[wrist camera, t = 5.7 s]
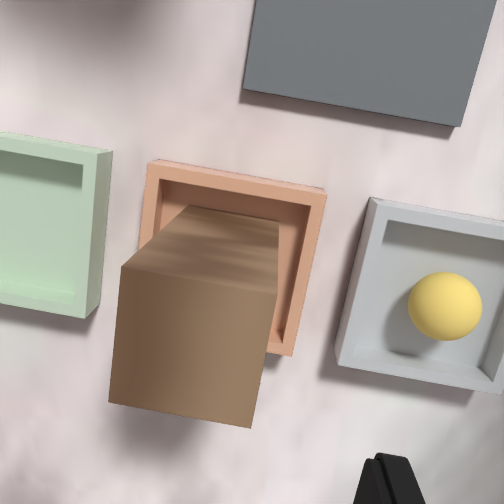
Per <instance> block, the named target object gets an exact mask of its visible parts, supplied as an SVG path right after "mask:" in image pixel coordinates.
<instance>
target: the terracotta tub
mask: <svg viewBox="0 0 504 504" xmlns="http://www.w3.org/2000/svg"><path fill="white" fill-rule="evenodd" d="M326 199H327V194H326V192H325V191H324V189H322V188H316V187H311V186H305V185H300V184H294V183H289V182H283V181H277V180H272V179H266V178H261V177H255V176H250V175H244V174H238V173H233V172H227V171H222V170H216V169H211V168H205V167H199V166H194V165H188V164H183V163H177V162H172V161H166V160H160V159H158V160H155V161H152V162H149V163H147V173H146V182H145V191H144V201H143V210H142V220H141V229H140V238H139V248H138V251H139V250H140V249H141V248H142V247H143V246H144V245H145V244H146V243H147V242H149V241H150V240H151V239H152V238H153V237H154V236H155V235H156V234H157V233H158V232H159V231H160V230H162V229H163V228H164V227H165V226H166V225H167V224H168V223H169V222H170V221H171V220H172V219H174V218H175V217H176V216H177V215H178V214H179V213H180V212H181V211H182V210H183V209H184V208H185V207H187V206H188V205H193V206H198V207H204V208H210V209H215V210H221V211H226V212H232V213H237V214H243V215H248V216H254V217H259V218H265V219H270V220H276V221H279V250H278V295H277V300H276V305H275V310H274V315H273V320H272V325H271V330H270V335H269V340H268V345H267V350H266V352H269V353H274V354H280V355H285V356H290V357H292V355H293V350H294V346H295V341H296V336H297V332H298V327H299V323H300V318H301V313H302V309H303V304H304V300H305V295H306V290H307V286H308V281H309V277H310V272H311V267H312V263H313V258H314V254H315V249H316V244H317V240H318V235H319V231H320V226H321V222H322V217H323V212H324V208H325V203H326Z"/></svg>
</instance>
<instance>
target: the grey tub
mask: <svg viewBox="0 0 504 504" xmlns="http://www.w3.org/2000/svg"><path fill="white" fill-rule="evenodd" d="M436 272H451V273H455V274H458V275H460V276H462V277H464V278H466V279H467V280H468V281H470V282H471V283H472V284H473V285H474V286H475V288H476V289H477V291H478V293H479V295H480V297H481V301H482V314H481V318H480V321H479V323H478V325H477V326H476V327H475V329H474V330H473V331H472V332H471V333H469V334H468V335H466V336H465V337H463V338H460V339H457V340H453V341H441V340H436V339H433V338H431V337H428V336H427V335H425V334H424V333H422V332H421V331H420V330H419V329H418V328H417V327H416V326H415V325H414V323H413V321H412V320H411V317H410V315H409V311H408V300H409V295H410V292H411V290H412V288H413V287H414V286H415V284H416V283H417V282H418V281H419V280H421V279H422V278H423V277H425V276H427V275H429V274H432V273H436ZM333 347H334V351H335V356H336V360H337V364H338V365H340V366H345V367H350V368H356V369H361V370H367V371H372V372H378V373H383V374H389V375H394V376H399V377H405V378H410V379H416V380H421V381H427V382H432V383H438V384H443V385H448V386H454V387H459V388H465V389H470V390H476V391H481V392H487V393H492V394H497V395H502V392H503V389H504V221H500V220H495V219H489V218H484V217H478V216H472V215H467V214H461V213H456V212H450V211H445V210H439V209H433V208H428V207H422V206H417V205H411V204H406V203H400V202H394V201H389V200H383V199H378V198H372V197H370V198H369V202H368V206H367V211H366V215H365V219H364V223H363V227H362V231H361V235H360V239H359V243H358V247H357V252H356V256H355V260H354V264H353V268H352V272H351V276H350V280H349V284H348V288H347V293H346V297H345V301H344V305H343V309H342V313H341V317H340V321H339V325H338V329H337V334H336V338H335V342H334V346H333Z"/></svg>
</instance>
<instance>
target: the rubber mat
mask: <svg viewBox="0 0 504 504" xmlns="http://www.w3.org/2000/svg"><path fill="white" fill-rule="evenodd" d="M496 1H497V0H257V1H256V7H255V14H254V20H253V27H252V33H251V39H250V46H249V52H248V59H247V65H246V71H245V78H244V84H243V89H246V90H252V91H257V92H263V93H268V94H274V95H280V96H285V97H291V98H297V99H302V100H308V101H313V102H319V103H325V104H330V105H336V106H342V107H347V108H353V109H359V110H364V111H370V112H375V113H381V114H387V115H392V116H398V117H404V118H409V119H415V120H421V121H426V122H432V123H437V124H443V125H449V126H454V127H461V123H462V120H463V116H464V113H465V109H466V106H467V102H468V99H469V95H470V92H471V88H472V85H473V81H474V78H475V74H476V71H477V67H478V64H479V60H480V57H481V54H482V50H483V47H484V43H485V40H486V36H487V33H488V29H489V26H490V22H491V19H492V15H493V12H494V8H495V5H496Z"/></svg>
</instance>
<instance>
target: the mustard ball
mask: <svg viewBox="0 0 504 504" xmlns="http://www.w3.org/2000/svg"><path fill="white" fill-rule="evenodd" d="M408 311H409V315H410V317H411V320H412V321H413V323H414V325H415V326H416V327H417V328H418V329H419V330H420V331H421V332H422V333H424V334H425V335H427V336H428V337H431V338H433V339H436V340H441V341H453V340H457V339H460V338H463V337H465V336H466V335H468V334H469V333H471V332H472V331H473V330H474V329H475V327H476V326H477V325H478V323H479V321H480V318H481V314H482V301H481V297H480V295H479V293H478V291H477V289H476V288H475V286H474V285H473V284H472V283H471V282H470V281H468V280H467V279H466V278H464V277H462V276H460V275H458V274H455V273H451V272H436V273H432V274H429V275H427V276H425V277H423V278H422V279H421V280H419V281H418V282H417V283H416V284H415V286H414V287H413V288H412V290H411V292H410V295H409V300H408Z"/></svg>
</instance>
